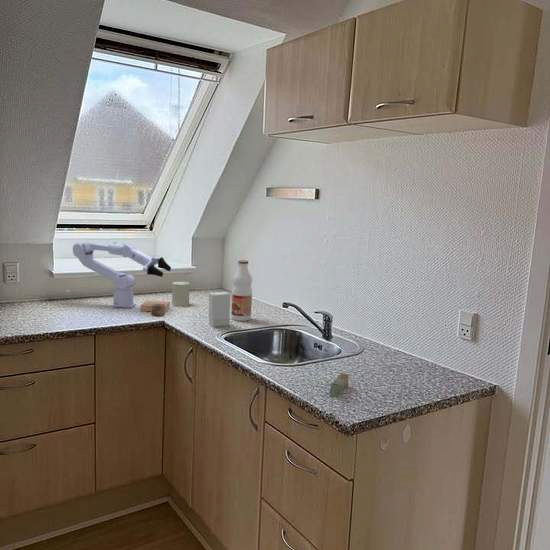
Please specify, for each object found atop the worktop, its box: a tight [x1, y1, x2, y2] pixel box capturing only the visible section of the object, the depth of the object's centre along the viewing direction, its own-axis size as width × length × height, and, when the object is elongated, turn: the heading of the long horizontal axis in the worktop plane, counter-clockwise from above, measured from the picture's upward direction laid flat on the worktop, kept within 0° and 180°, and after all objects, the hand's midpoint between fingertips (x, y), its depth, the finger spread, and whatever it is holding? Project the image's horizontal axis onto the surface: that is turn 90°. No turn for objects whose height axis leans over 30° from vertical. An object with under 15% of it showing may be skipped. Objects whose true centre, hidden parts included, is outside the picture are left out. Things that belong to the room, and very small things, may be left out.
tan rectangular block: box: [139, 300, 171, 313], centre depth 261 cm, size 12×12×3 cm
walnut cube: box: [150, 304, 165, 317], centre depth 249 cm, size 5×5×5 cm
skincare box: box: [208, 291, 231, 328], centre depth 234 cm, size 8×6×15 cm
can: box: [171, 281, 191, 307], centre depth 275 cm, size 9×9×12 cm
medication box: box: [329, 372, 350, 398], centre depth 160 cm, size 12×3×4 cm, turn 158°
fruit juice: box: [230, 259, 253, 322], centre depth 247 cm, size 9×9×28 cm
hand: (166, 272), depth 258 cm, fingers open, 7 cm apart
